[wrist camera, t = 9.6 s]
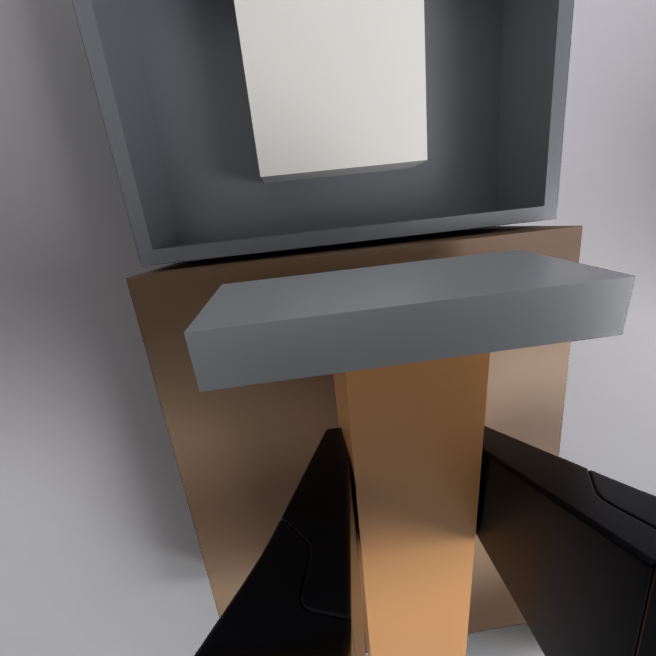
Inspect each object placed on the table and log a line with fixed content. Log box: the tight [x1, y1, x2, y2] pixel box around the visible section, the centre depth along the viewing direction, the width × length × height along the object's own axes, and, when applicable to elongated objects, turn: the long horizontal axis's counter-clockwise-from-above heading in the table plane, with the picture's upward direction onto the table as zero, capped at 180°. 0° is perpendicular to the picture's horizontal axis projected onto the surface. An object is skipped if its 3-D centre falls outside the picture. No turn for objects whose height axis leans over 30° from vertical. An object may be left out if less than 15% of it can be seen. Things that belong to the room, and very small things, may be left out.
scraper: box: [184, 249, 635, 656], centre depth 8 cm, size 10×7×3 cm
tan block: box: [127, 226, 582, 653], centre depth 13 cm, size 15×12×4 cm
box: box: [72, 0, 574, 266], centre depth 10 cm, size 8×12×3 cm, turn 96°
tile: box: [234, 0, 427, 183], centre depth 10 cm, size 5×5×2 cm
